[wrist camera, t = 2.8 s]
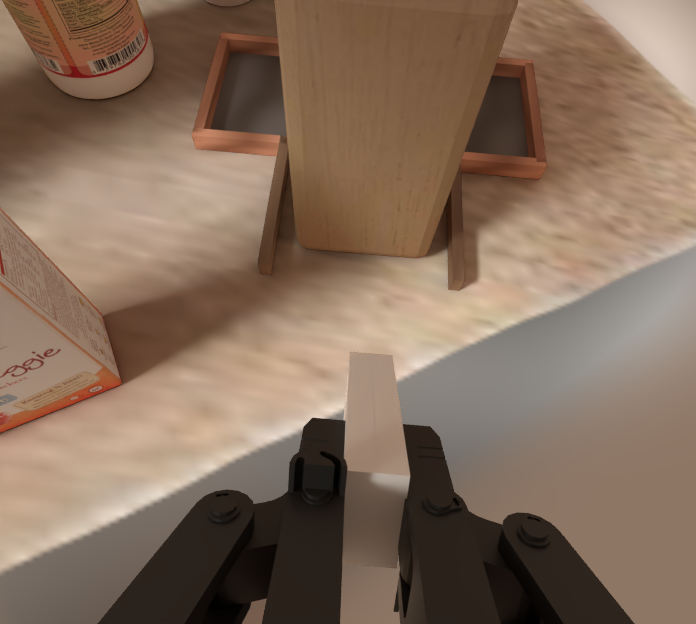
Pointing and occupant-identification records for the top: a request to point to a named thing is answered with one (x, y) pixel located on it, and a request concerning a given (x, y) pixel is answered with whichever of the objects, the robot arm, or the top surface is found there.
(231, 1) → the coffee cup
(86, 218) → the top surface
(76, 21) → the fruit juice
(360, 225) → the wooden block
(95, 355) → the cracker box
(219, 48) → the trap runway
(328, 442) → the robot arm
